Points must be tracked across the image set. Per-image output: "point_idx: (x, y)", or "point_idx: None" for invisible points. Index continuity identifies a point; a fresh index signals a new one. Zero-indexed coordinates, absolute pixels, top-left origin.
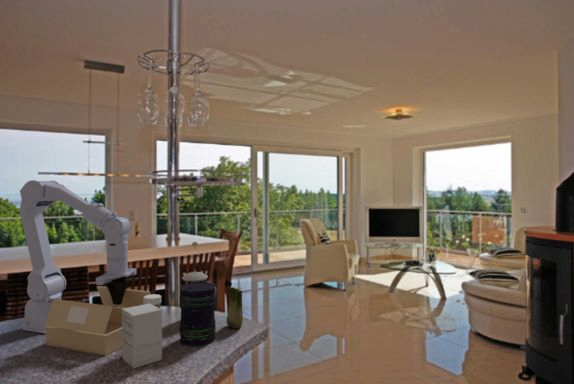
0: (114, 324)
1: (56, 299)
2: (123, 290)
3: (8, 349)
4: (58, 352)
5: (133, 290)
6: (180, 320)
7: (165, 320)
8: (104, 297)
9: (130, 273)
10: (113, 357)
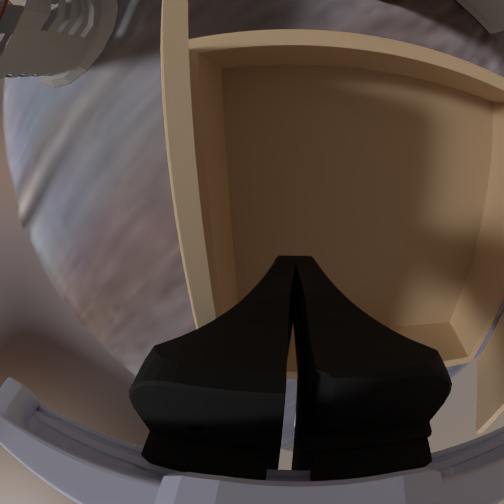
0: (252, 263)
1: (487, 426)
2: (274, 307)
3: (463, 364)
4: None
5: (191, 212)
6: (92, 55)
7: (104, 116)
8: None
9: (67, 455)
10: (493, 65)
